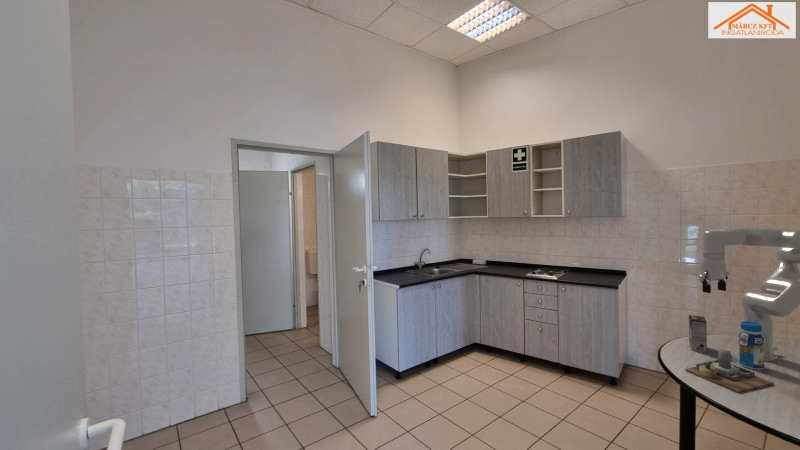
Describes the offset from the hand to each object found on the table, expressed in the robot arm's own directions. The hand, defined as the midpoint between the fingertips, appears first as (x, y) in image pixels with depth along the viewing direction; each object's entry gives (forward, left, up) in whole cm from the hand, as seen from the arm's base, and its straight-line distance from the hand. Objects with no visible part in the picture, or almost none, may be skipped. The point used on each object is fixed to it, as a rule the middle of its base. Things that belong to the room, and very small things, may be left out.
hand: (714, 291), depth 163 cm
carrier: (+14, +14, -33) cm, 39 cm away
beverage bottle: (-7, +10, -34) cm, 36 cm away
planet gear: (+11, +11, -32) cm, 36 cm away
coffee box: (-6, -12, -34) cm, 36 cm away
